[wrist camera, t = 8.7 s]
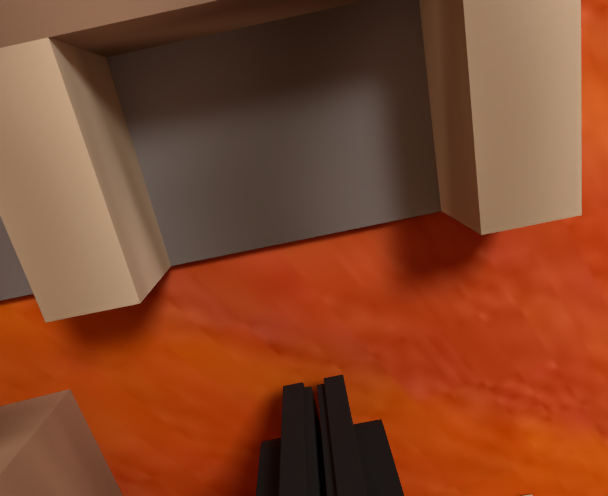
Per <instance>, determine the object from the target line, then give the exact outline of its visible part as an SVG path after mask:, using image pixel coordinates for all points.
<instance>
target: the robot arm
mask: <svg viewBox="0 0 608 496" xmlns="http://www.w3.org/2000/svg"><path fill="white" fill-rule="evenodd" d="M317 389H318V400H319V411H320V420H319V416H318V412H317V407H316V403H315V399H314V394H313V390H312V387H311V386H310V387H304V384H303V382H302V383H297V384H291V385H286V386H283V404H282V431H281V438H278V439H273V440H268V441H263V442H262V443H261V449H260V459H259V469H258V479H257V489H256V496H404V493H403V490H402V487H401V483H400V480H399V477H398V473H397V470H396V467H395V463H394V460H393V456H392V453H391V450H390V446H389V443H388V440H387V436H386V433H385V429H384V426H383V423H382V420H381V419H380V420H375V421H370V422H364V423H359V424H354V425H353V422H352V417H351V412H350V407H349V402H348V397H347V392H346V387H345V383H344V378H343V375H339V376H333V377H328V378H324V384H321V385H317ZM320 422H321V425H320Z"/></svg>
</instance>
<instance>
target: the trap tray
mask: <svg viewBox="0 0 608 496" xmlns="http://www.w3.org/2000/svg"><path fill="white" fill-rule="evenodd" d="M440 211H442V212H443V213H445V214H447V215H448V216H450V217H452V218H453V219H455V220H457V221H459V222H460V223H462V224H464V225H465V226H467V227H469V228H470V229H472V230H474V231H475V232H477V233H479V234H480V235H485V234H490V233H495V232H500V231H505V230H510V229H515V228H520V227H525V226H530V225H535V224H540V223H545V222H549V221H554V220H559V219H564V218H569V217H574V216H579V215H582V156H581V0H0V301H1V300H6V299H11V298H16V297H20V296H25V295H30V294H34V296H35V298H36V301H37V303H38V305H39V308H40V310H41V312H42V315H43V317H44V320H45V322H50V321H55V320H60V319H65V318H70V317H75V316H80V315H85V314H90V313H95V312H100V311H105V310H110V309H115V308H120V307H125V306H130V305H135V304H140V303H141V302H142V301H143V300H144V298H145V297H146V296H147V295H148V294H149V292H150V291H151V290H152V289H153V287H154V286H155V285H156V284H157V283H158V281H159V280H160V279H161V278H162V277H163V275H164V274H165V273H166V272H167V270H168V269H169V268H170V267H171V266H174V265H179V264H184V263H188V262H193V261H198V260H203V259H208V258H213V257H218V256H223V255H228V254H233V253H238V252H243V251H248V250H253V249H258V248H263V247H267V246H272V245H277V244H282V243H287V242H292V241H297V240H302V239H307V238H312V237H317V236H322V235H327V234H332V233H337V232H342V231H347V230H351V229H356V228H361V227H366V226H371V225H376V224H381V223H386V222H391V221H396V220H401V219H406V218H411V217H416V216H421V215H426V214H431V213H435V212H440ZM524 496H532V494H530V495H524Z"/></svg>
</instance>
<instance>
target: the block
mask: <svg viewBox="0 0 608 496" xmlns="http://www.w3.org/2000/svg"><path fill="white" fill-rule="evenodd" d="M0 496H123V495H122V493H121V491H120V489H119V487H118V485H117V483H116V481H115V479H114V477H113V475H112V473H111V471H110V469H109V467H108V465H107V463H106V461H105V459H104V457H103V455H102V453H101V451H100V449H99V447H98V445H97V443H96V441H95V438H94V436H93V434H92V432H91V430H90V428H89V426H88V424H87V422H86V420H85V418H84V416H83V414H82V412H81V410H80V408H79V406H78V404H77V402H76V400H75V398H74V396H73V394H72V392H71V390H70V389H69V390H65V391H61V392H57V393H52V394H48V395H44V396H40V397H36V398H32V399H28V400H24V401H20V402H16V403H12V404H8V405H4V406H0Z"/></svg>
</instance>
